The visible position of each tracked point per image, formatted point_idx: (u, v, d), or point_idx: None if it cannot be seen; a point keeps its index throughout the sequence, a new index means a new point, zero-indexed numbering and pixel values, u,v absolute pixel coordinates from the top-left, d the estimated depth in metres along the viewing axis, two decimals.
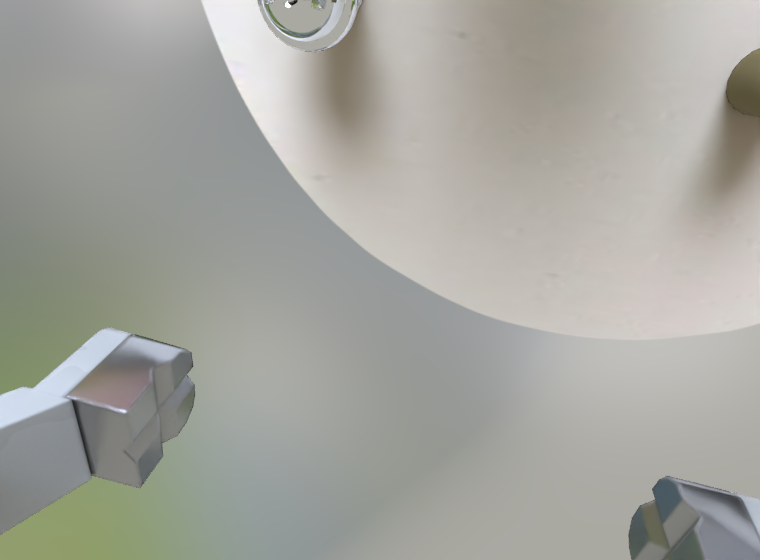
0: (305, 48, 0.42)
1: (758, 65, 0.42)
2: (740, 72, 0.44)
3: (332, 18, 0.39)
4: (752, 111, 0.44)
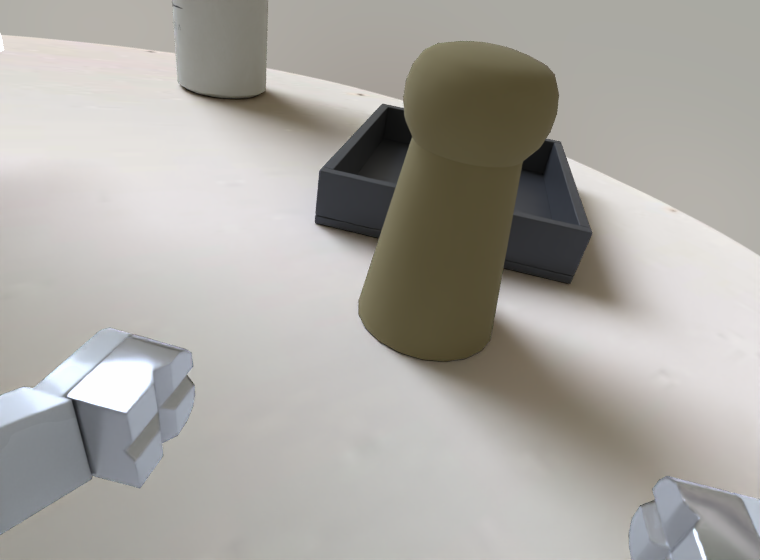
0: None
1: (374, 261, 0.20)
2: (373, 303, 0.20)
3: None
4: (457, 286, 0.18)
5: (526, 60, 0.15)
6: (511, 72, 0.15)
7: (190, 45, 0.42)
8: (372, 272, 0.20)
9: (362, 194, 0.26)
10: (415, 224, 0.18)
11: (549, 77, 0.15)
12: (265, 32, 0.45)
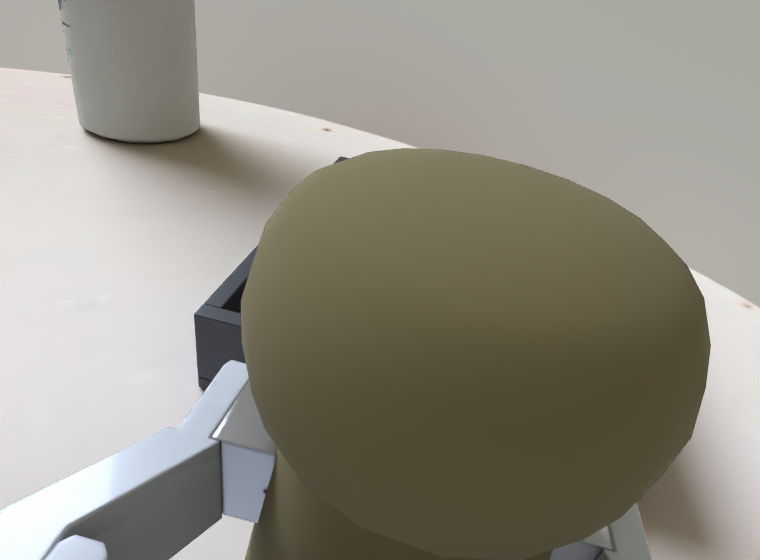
0: None
1: None
2: None
3: None
4: None
5: (615, 253, 0.05)
6: (574, 338, 0.04)
7: (85, 75, 0.31)
8: None
9: None
10: None
11: (695, 312, 0.04)
12: (192, 56, 0.34)
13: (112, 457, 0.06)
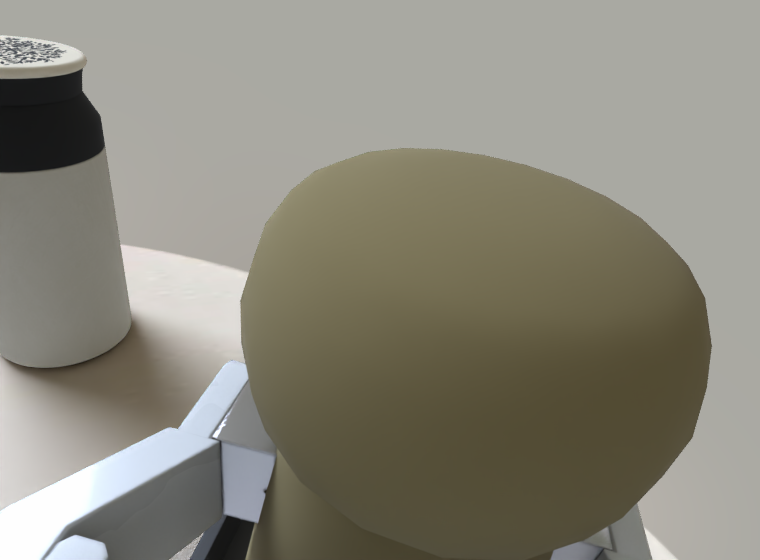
0: None
1: None
2: None
3: None
4: None
5: (616, 253, 0.05)
6: (576, 338, 0.04)
7: None
8: None
9: None
10: None
11: (696, 312, 0.04)
12: (114, 274, 0.31)
13: (112, 457, 0.06)
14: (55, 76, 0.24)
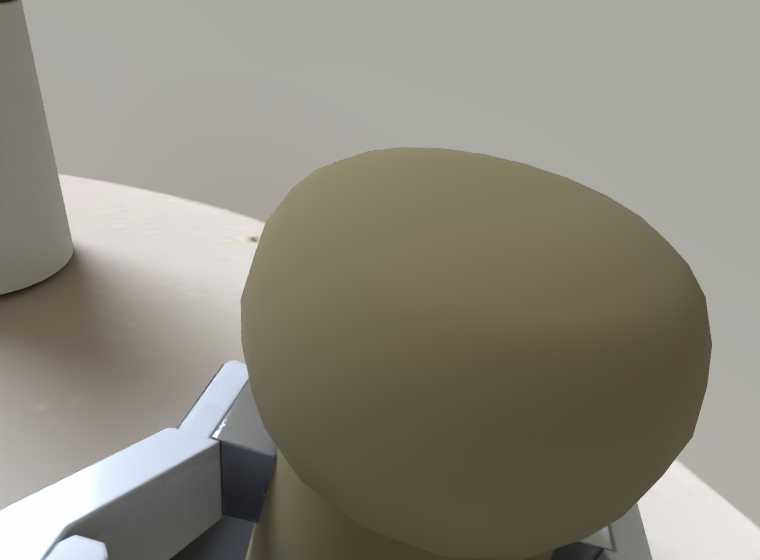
0: None
1: None
2: None
3: None
4: None
5: (616, 252, 0.05)
6: (576, 337, 0.04)
7: None
8: None
9: None
10: None
11: (697, 311, 0.04)
12: (40, 181, 0.24)
13: (112, 457, 0.06)
14: None
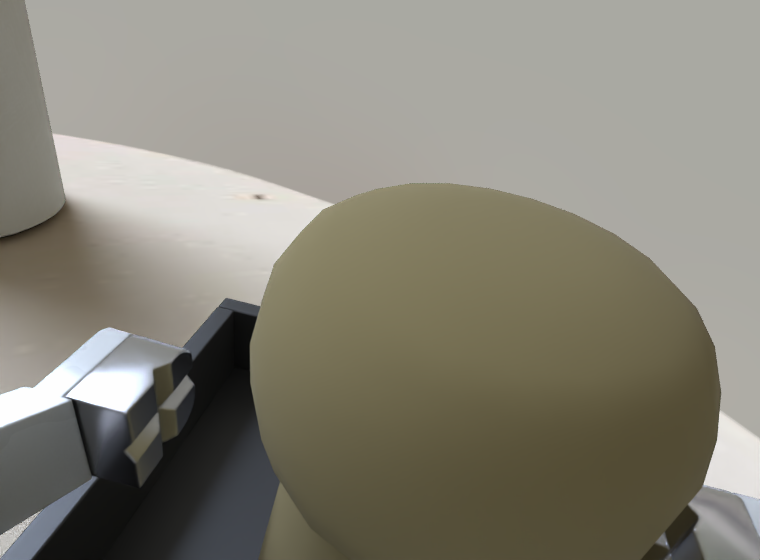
0: None
1: None
2: None
3: None
4: None
5: (626, 304, 0.05)
6: (586, 401, 0.04)
7: None
8: None
9: None
10: None
11: (706, 364, 0.04)
12: (28, 114, 0.22)
13: None
14: None
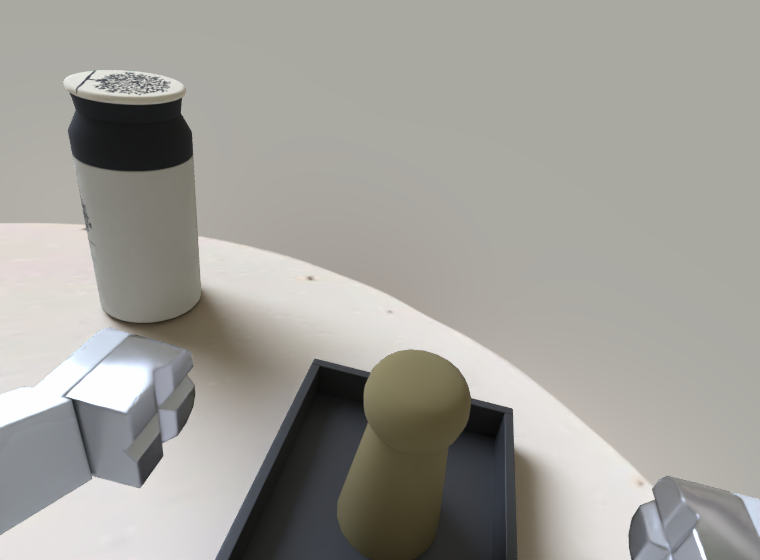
0: None
1: (347, 485, 0.27)
2: (346, 517, 0.27)
3: None
4: (404, 520, 0.25)
5: (444, 391, 0.23)
6: (431, 411, 0.22)
7: (107, 279, 0.38)
8: (346, 492, 0.27)
9: None
10: (373, 480, 0.25)
11: (460, 403, 0.23)
12: (194, 251, 0.41)
13: None
14: (169, 102, 0.33)
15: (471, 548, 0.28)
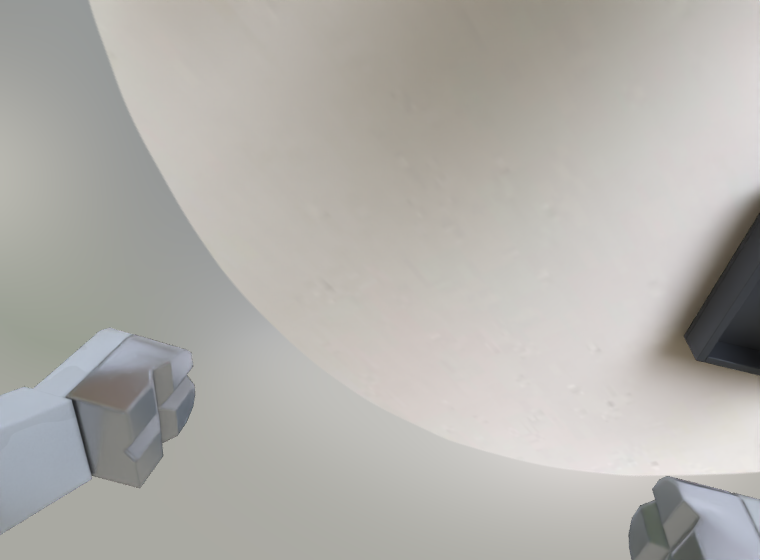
0: None
1: None
2: None
3: None
4: None
5: None
6: None
7: None
8: None
9: None
10: None
11: None
12: None
13: None
14: None
15: None
